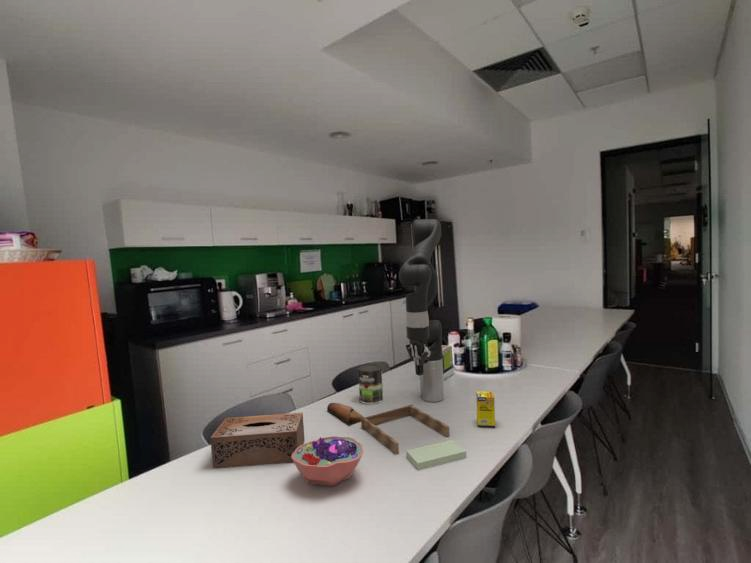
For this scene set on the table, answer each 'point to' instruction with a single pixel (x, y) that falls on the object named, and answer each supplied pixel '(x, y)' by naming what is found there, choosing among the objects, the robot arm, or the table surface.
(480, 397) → the supplement box
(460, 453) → the cover plate
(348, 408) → the sunglasses case
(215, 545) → the table surface
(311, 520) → the table surface
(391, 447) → the open wooden frame
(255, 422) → the tissue box cover
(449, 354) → the tea box
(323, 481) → the cell model
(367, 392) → the coffee can
